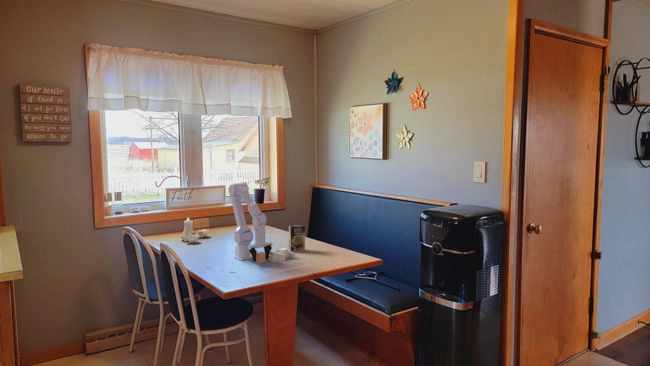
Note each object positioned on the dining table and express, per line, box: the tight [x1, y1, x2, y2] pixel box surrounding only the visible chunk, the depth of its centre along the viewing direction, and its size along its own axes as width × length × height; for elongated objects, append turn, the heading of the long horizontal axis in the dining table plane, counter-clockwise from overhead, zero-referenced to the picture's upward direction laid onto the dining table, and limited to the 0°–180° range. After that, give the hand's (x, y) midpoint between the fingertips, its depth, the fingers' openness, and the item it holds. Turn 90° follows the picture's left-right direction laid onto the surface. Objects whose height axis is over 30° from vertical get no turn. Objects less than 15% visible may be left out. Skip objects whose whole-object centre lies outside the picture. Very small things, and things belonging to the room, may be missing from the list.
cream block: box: [278, 247, 289, 258], centre depth 252 cm, size 4×4×5 cm
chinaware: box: [180, 217, 210, 244], centre depth 302 cm, size 28×17×17 cm, turn 179°
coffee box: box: [288, 224, 306, 253], centre depth 268 cm, size 9×6×16 cm
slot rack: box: [266, 248, 297, 264], centre depth 250 cm, size 16×15×4 cm
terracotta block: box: [255, 251, 267, 264], centre depth 242 cm, size 4×4×6 cm
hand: (260, 260), depth 242 cm, fingers open, 7 cm apart
